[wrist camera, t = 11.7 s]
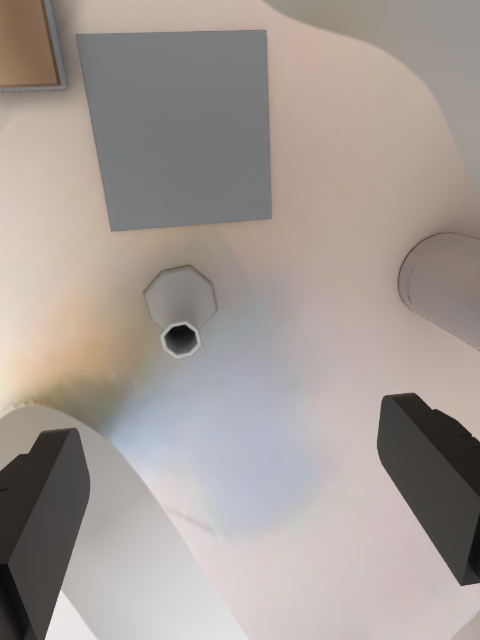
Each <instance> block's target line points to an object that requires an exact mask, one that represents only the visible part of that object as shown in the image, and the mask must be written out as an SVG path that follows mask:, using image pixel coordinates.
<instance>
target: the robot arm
mask: <svg viewBox="0 0 480 640" xmlns="http://www.w3.org/2000/svg"><path fill="white" fill-rule="evenodd" d="M399 291H400V295H401V298H402V300H403V302H404V303H405V304H406V305H407V307H408V308H409V309H411V310H413V311H414V312H416V313H417V314H419V315H421V316H422V317H424V318H426V319H427V320H429V321H431V322H432V323H434V324H435V325H437V326H439V327H440V328H442V329H444V330H445V331H447V332H449V333H450V334H452V335H454V336H455V337H457V338H459V339H461V340H462V341H464V342H466V343H467V344H469V345H471V346H472V347H474V348H476V349H477V350H479V351H480V239H476V238H471V237H467V236H462V235H457V234H452V233H443V234H438V235H434V236H431V237H429V238H427V239H426V240H424V241H422V242H421V243H420V244H418V245H417V246H416V247H415V248H414V249H413V250H412V251H411V252H410V254H409V255H408V257H407V258H406V260H405V261H404V263H403V266H402V268H401V271H400V276H399ZM377 449H378V454H379V458H380V460H381V463H382V465H383V467H384V468H385V470H386V471H387V473H388V474H389V476H390V477H391V479H392V481H393V482H394V484H395V485H396V487H397V488H398V490H399V491H400V493H401V494H402V496H403V498H404V499H405V501H406V502H407V504H408V505H409V507H410V508H411V510H412V511H413V513H414V515H415V516H416V518H417V519H418V521H419V522H420V524H421V525H422V527H423V528H424V530H425V532H426V533H427V535H428V536H429V538H430V539H431V541H432V542H433V544H434V545H435V547H436V548H437V550H438V552H439V553H440V555H441V556H442V558H443V559H444V561H445V562H446V564H447V565H448V567H449V569H450V570H451V572H452V573H453V575H454V576H455V578H456V579H457V581H458V582H459V584H460V586H464V585H471V584H477V583H480V442H479V441H478V440H477V439H476V438H475V437H472V434H471V433H470V432H469V431H468V430H467V429H466V428H464V427H463V426H462V425H461V424H460V423H459V422H458V421H457V420H455V419H454V418H452V417H450V416H448V415H446V414H445V413H443V412H441V411H439V410H437V409H434V410H432V409H431V408H430V407H429V406H428V405H427V404H426V403H425V402H424V401H423V400H422V399H421V398H420V397H419V396H418V395H417V394H415V393H404V394H395V395H386V396H384V397H383V399H382V403H381V411H380V420H379V429H378V438H377ZM89 493H90V477H89V472H88V468H87V464H86V459H85V456H84V452H83V447H82V444H81V439H80V435H79V432H78V430H77V429H76V428H66V429H56V430H47V431H42V432H41V433H40V435H39V436H38V438H37V440H36V442H35V443H34V445H33V447H32V448H31V450H30V452H29V454H20V455H18V456H17V457H16V458H15V459H14V460H12V461H11V462H10V463H9V464H8V465H7V466H6V467H4V468H3V469H2V470H1V471H0V640H45V637H46V633H47V630H48V627H49V624H50V621H51V617H52V614H53V611H54V608H55V605H56V602H57V598H58V595H59V592H60V589H61V586H62V583H63V579H64V576H65V573H66V570H67V567H68V564H69V560H70V557H71V554H72V551H73V548H74V545H75V541H76V538H77V535H78V532H79V529H80V526H81V522H82V519H83V516H84V513H85V510H86V506H87V503H88V500H89Z"/></svg>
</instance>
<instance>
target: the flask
mask: <svg viewBox="0 0 480 640" xmlns="http://www.w3.org/2000/svg"><path fill="white" fill-rule="evenodd" d="M143 294H144V298H145V301H146V305H147V308H148V311H149V315H150V318H151V320H152V321H153V322H155V323H156V324H157V325H159V326H160V327H161V328H162V329H163V331H162V332H161V333H160V335H159V337H160V340H161V344H162V347H163V350H164V351H165V352H166V353H168V354H169V355H171V356H172V357H173V358H175V359H181V358H185V357H189V356H192V355H193V354H194V353H195V352H196V351H197V350H198V349H199V348H200V346H201V345H202V341H201V337H200V333H199V330H200V329H201V328H202V326H203V325H204V324H205V323H206V322H207V321H208V320H209V319H210V318H211V317H212V316H213V314H214V313H215V312H216V311H217V310H218V309H217V304H216V299H215V295H214V290H213V286H212V283H211V282H209V281H208V280H207V279H206V278H205V277H203V276H202V275H201V274H200V273H199V272H197V271H196V270H195V269H194V268H193V267H191V266H185V267H181V268H176V269H171V270H166V271H162V272H161V273H160V274H159V275H158V276H157V277H156V278H155V280H154V281H153V282H152V283H151V284H150V285H149V287H148V288H147V289H146V290H145V291H144V292H143Z"/></svg>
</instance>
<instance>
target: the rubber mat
mask: <svg viewBox="0 0 480 640" xmlns="http://www.w3.org/2000/svg"><path fill="white" fill-rule="evenodd" d="M76 39H77V44H78V50H79V55H80V61H81V67H82V72H83V78H84V83H85V89H86V94H87V100H88V105H89V111H90V116H91V122H92V127H93V133H94V138H95V144H96V149H97V155H98V160H99V166H100V171H101V177H102V182H103V188H104V193H105V199H106V204H107V210H108V215H109V221H110V226H111V232H112V231H124V230H137V229H150V228H162V227H175V226H188V225H200V224H213V223H226V222H238V221H251V220H264V219H272V212H271V177H270V141H269V106H268V70H267V35H266V30H240V31H198V32H156V33H113V34H76Z"/></svg>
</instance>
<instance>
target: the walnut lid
mask: <svg viewBox="0 0 480 640" xmlns="http://www.w3.org/2000/svg"><path fill="white" fill-rule="evenodd" d="M54 86H61V81H60V76H59V71H58V66H57V61H56V56H55V51H54V46H53V41H52V36H51V31H50V26H49V21H48V16H47V11H46V6H45V1H44V0H0V89H1V88H27V87H54Z"/></svg>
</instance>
